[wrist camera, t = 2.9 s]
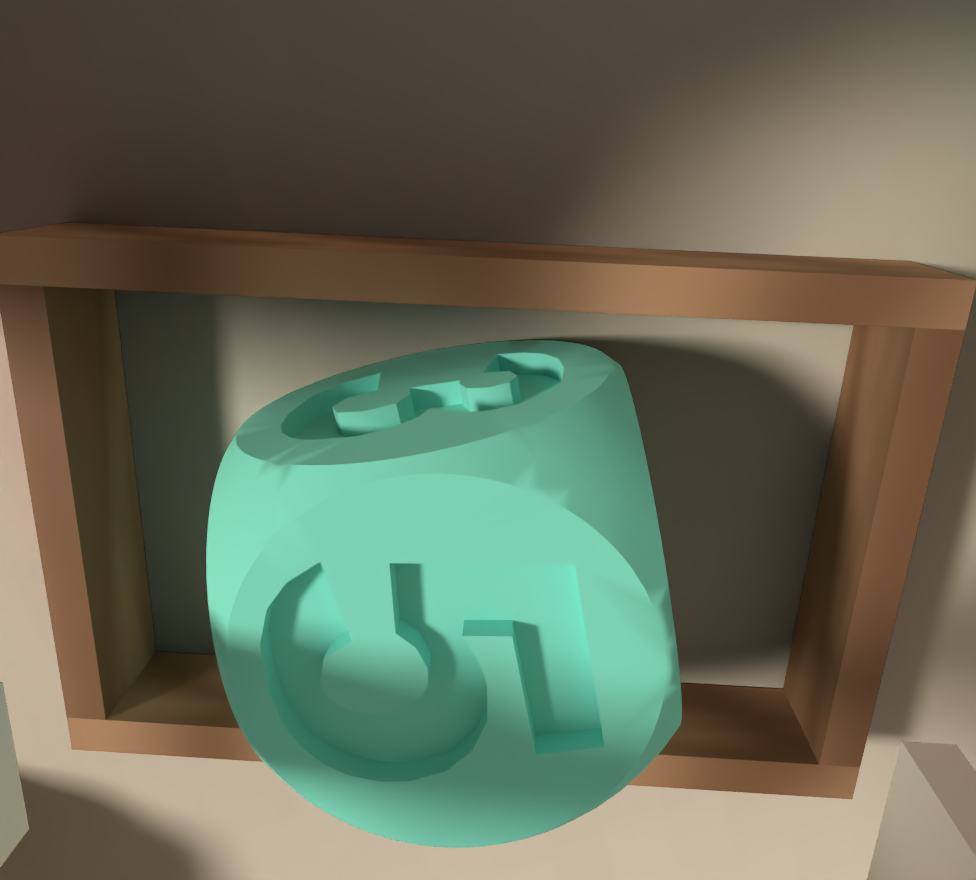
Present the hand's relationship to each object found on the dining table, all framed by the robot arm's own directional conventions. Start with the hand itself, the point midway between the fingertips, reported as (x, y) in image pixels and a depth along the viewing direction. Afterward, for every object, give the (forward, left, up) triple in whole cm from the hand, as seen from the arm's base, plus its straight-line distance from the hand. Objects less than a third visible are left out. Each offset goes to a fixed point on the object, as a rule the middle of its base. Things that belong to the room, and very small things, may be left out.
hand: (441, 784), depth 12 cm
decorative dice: (0, 0, -10) cm, 10 cm away
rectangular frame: (0, 0, -10) cm, 10 cm away
